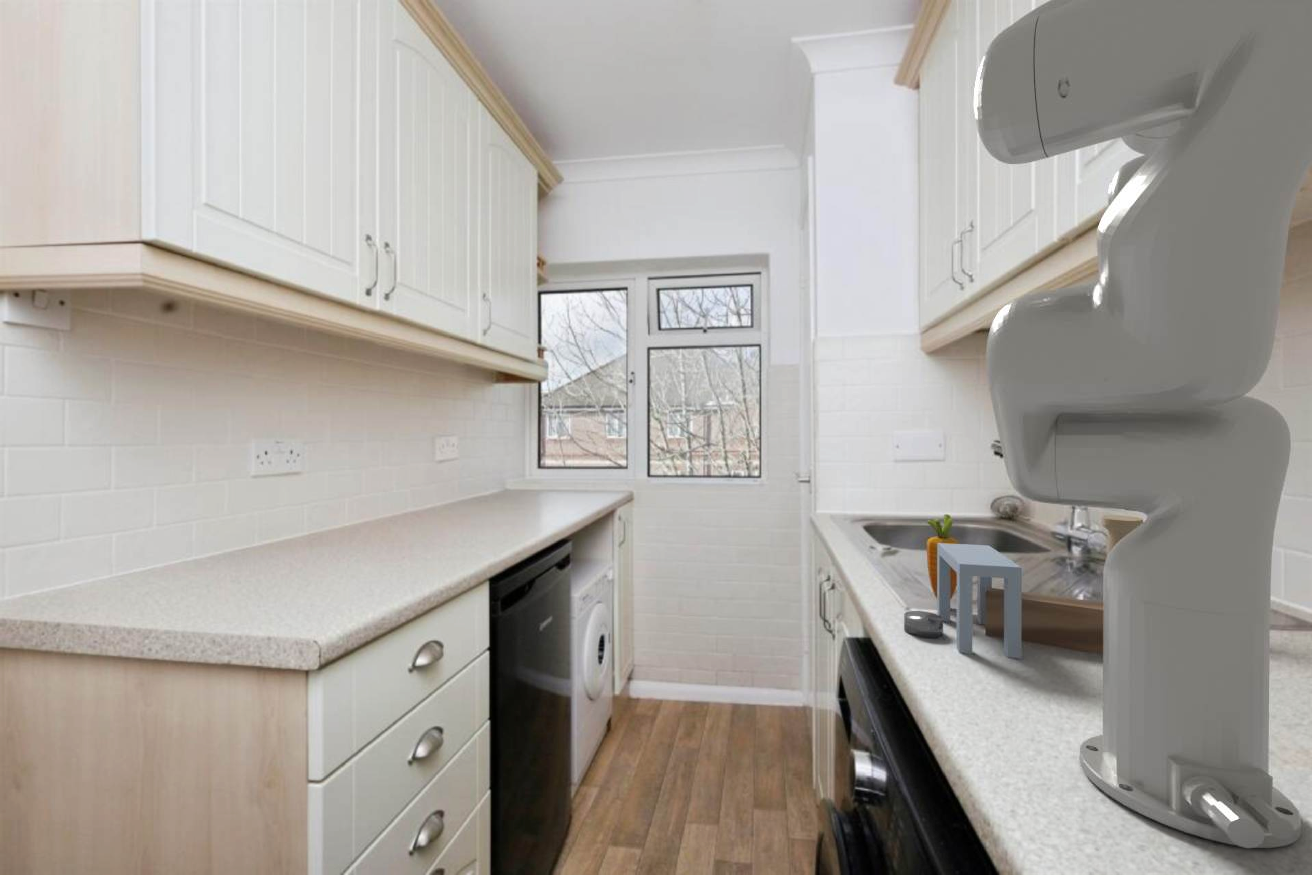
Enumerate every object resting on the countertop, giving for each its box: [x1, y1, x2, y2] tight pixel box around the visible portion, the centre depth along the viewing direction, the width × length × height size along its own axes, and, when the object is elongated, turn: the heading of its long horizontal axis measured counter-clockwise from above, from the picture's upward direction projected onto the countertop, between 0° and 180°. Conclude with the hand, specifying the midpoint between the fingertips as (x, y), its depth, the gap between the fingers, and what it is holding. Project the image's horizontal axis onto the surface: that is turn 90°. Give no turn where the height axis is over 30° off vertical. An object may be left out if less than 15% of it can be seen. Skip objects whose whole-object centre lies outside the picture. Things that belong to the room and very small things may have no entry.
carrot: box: [926, 513, 961, 601], centre depth 90 cm, size 5×5×15 cm
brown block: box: [984, 587, 1103, 656], centre depth 75 cm, size 4×18×6 cm, turn 57°
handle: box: [1100, 514, 1144, 558], centre depth 87 cm, size 5×6×15 cm
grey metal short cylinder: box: [903, 610, 944, 640], centre depth 79 cm, size 5×5×2 cm
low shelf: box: [936, 543, 1023, 660], centre depth 77 cm, size 14×7×12 cm, turn 164°
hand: (1178, 433), depth 63 cm, fingers open, 9 cm apart
